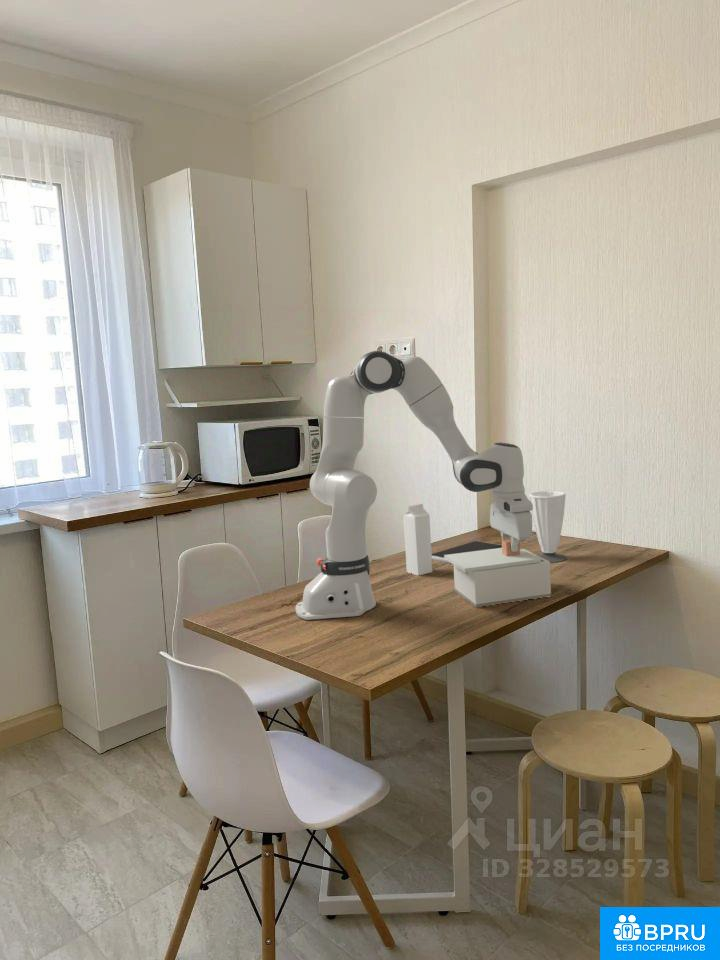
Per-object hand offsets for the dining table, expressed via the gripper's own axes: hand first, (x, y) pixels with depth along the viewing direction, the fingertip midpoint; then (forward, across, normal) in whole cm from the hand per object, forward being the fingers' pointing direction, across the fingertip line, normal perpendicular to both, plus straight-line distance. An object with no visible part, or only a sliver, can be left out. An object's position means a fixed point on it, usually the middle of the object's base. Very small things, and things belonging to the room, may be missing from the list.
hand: (510, 549), depth 200 cm
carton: (+13, 0, -3) cm, 13 cm away
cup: (+13, -28, +26) cm, 41 cm away
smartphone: (+13, -48, +5) cm, 50 cm away
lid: (+2, 0, -6) cm, 6 cm away
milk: (+13, -32, -17) cm, 39 cm away
